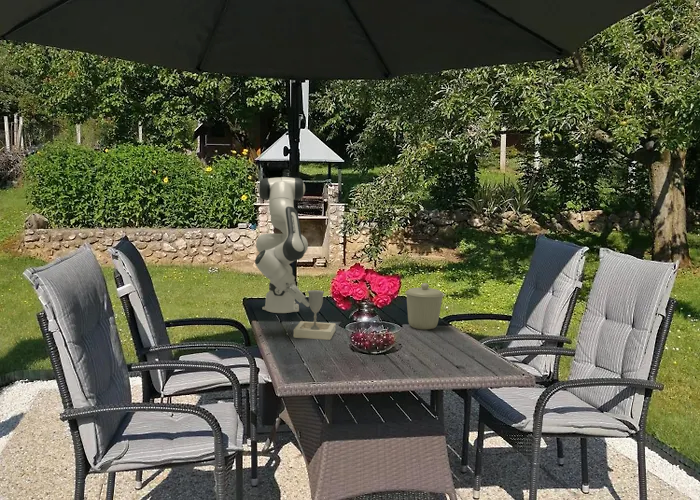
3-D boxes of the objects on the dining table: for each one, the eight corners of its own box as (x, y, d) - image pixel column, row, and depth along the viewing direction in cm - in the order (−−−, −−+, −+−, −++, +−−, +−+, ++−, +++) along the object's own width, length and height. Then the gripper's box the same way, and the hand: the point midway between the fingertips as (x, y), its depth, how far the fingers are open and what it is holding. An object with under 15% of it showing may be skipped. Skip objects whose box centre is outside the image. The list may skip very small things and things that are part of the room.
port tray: (300, 328, 311) (300, 321, 310) (335, 331, 309) (335, 323, 309) (293, 337, 295) (293, 329, 295) (330, 339, 293) (330, 331, 293)
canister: (400, 329, 316) (402, 284, 313) (406, 321, 333) (408, 278, 331) (439, 333, 312) (442, 287, 309) (444, 324, 329) (446, 281, 326)
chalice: (324, 330, 305) (325, 290, 303) (321, 334, 298) (323, 293, 296) (307, 329, 306) (308, 289, 304) (305, 333, 299) (306, 292, 297)
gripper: (293, 280, 286) (316, 303, 290) (286, 272, 306) (307, 294, 309) (283, 291, 286) (305, 313, 289) (276, 282, 305) (297, 303, 309)
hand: (306, 303), depth 299 cm, fingers open, 8 cm apart
